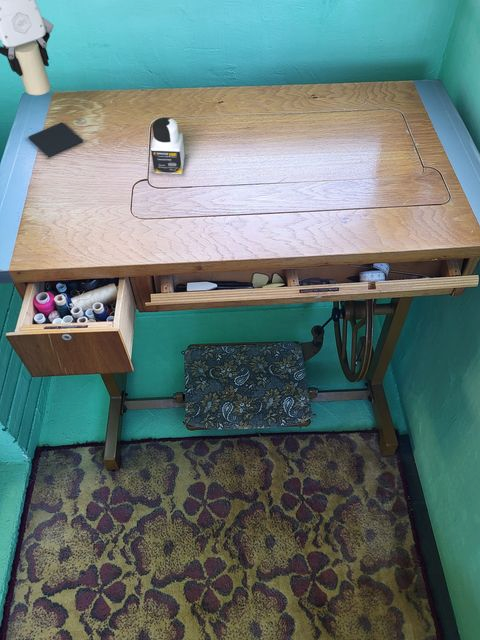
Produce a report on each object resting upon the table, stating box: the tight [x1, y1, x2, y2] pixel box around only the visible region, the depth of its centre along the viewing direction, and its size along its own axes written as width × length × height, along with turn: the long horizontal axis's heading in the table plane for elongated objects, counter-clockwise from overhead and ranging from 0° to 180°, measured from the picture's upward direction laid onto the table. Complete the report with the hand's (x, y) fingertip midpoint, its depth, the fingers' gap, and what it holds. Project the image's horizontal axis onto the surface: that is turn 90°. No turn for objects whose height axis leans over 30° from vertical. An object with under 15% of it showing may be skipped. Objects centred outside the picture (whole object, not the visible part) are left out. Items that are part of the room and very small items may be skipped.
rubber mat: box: [28, 122, 83, 158], centre depth 138 cm, size 10×10×1 cm
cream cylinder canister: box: [14, 40, 52, 96], centre depth 123 cm, size 8×6×10 cm
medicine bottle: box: [150, 117, 186, 175], centre depth 130 cm, size 7×7×12 cm
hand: (31, 67), depth 122 cm, fingers closed on cream cylinder canister, 6 cm apart
